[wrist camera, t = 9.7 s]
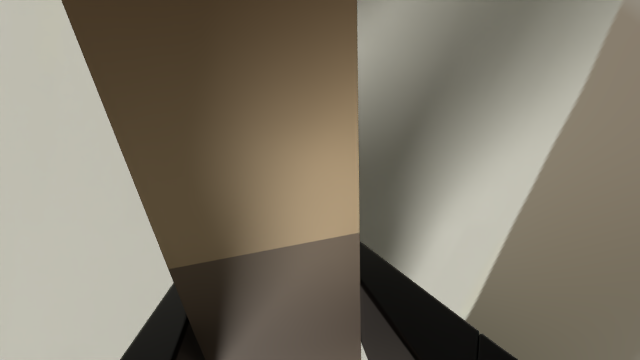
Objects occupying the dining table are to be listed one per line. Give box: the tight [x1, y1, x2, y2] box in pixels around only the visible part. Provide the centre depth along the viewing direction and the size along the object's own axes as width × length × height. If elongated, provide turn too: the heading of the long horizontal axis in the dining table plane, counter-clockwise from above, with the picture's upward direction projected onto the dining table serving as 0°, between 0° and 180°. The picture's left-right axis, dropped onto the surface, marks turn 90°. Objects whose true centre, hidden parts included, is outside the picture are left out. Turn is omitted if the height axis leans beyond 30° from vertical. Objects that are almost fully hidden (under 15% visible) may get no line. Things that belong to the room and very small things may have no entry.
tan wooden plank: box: [62, 0, 361, 360], centre depth 7 cm, size 14×3×3 cm, turn 4°
